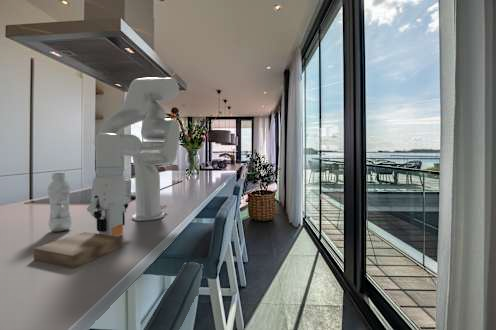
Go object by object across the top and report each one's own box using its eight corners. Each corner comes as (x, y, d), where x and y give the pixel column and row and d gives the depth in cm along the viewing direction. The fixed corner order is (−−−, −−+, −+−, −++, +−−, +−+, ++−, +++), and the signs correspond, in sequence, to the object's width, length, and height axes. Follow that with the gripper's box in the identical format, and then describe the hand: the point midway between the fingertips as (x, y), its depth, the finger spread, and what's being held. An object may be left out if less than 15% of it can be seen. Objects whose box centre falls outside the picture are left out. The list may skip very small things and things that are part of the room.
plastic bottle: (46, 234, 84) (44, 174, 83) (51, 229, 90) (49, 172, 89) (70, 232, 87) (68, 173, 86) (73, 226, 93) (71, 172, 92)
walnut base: (85, 241, 78) (84, 231, 78) (120, 247, 73) (120, 237, 73) (33, 259, 65) (33, 248, 65) (73, 268, 60) (72, 255, 60)
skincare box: (110, 240, 79) (109, 202, 78) (98, 239, 80) (97, 201, 79) (123, 234, 85) (123, 198, 84) (112, 233, 86) (111, 198, 85)
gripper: (122, 170, 91) (123, 220, 91) (75, 174, 74) (77, 234, 75) (139, 170, 88) (140, 222, 89) (94, 175, 72) (96, 237, 73)
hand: (111, 227), depth 82 cm, fingers closed on skincare box, 6 cm apart
